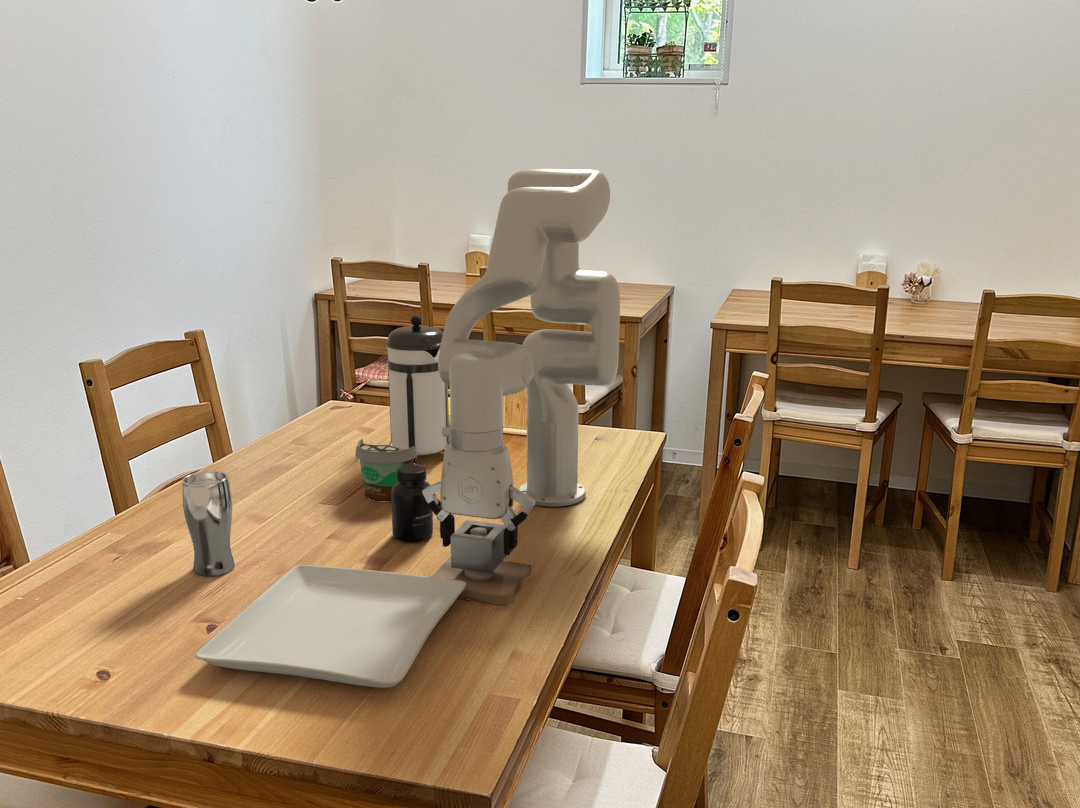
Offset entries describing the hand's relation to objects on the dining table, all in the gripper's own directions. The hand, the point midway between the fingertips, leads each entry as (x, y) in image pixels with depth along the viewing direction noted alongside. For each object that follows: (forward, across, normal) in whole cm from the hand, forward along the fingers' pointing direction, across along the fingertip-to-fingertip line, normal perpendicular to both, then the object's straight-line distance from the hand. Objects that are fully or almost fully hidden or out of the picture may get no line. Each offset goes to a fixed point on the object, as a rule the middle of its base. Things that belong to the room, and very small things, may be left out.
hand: (478, 547), depth 136 cm
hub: (+2, 0, 0) cm, 2 cm away
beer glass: (+6, -41, -8) cm, 42 cm away
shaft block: (+6, 0, 0) cm, 6 cm away
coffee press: (+6, -35, +53) cm, 64 cm away
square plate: (+6, -12, -20) cm, 24 cm away
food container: (+6, -30, +27) cm, 41 cm away
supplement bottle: (+6, -17, +13) cm, 22 cm away
